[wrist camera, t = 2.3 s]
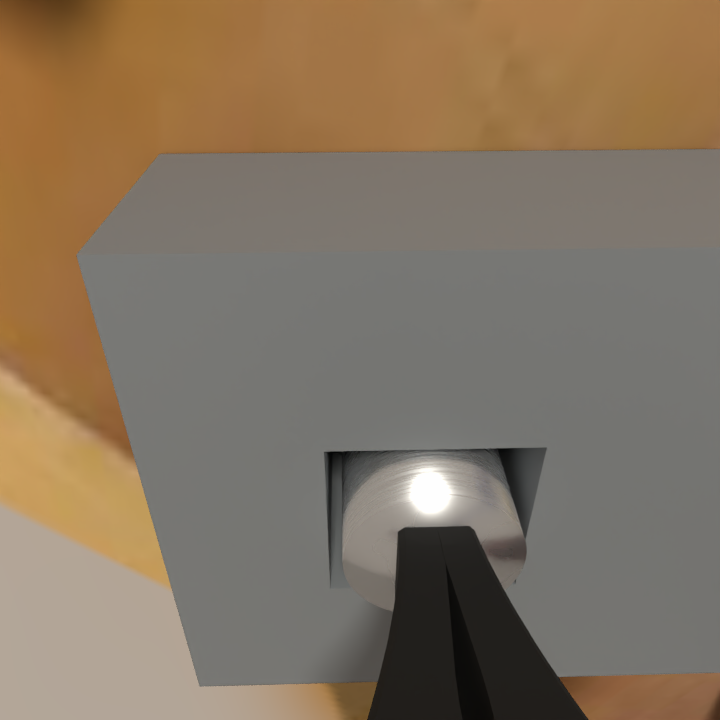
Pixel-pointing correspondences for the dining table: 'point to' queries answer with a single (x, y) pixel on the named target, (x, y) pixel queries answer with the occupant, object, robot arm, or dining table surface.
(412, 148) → the dining table surface
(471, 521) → the steel peg
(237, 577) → the press block
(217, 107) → the dining table surface
